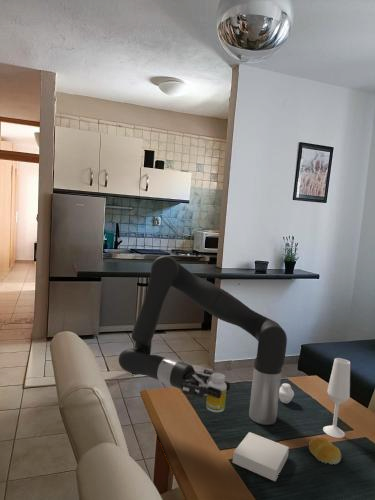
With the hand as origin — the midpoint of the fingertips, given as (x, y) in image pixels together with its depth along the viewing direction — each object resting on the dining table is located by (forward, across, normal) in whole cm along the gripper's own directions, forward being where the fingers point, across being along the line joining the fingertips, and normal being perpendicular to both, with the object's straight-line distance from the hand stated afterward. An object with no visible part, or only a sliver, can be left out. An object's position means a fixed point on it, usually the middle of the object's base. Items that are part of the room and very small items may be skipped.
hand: (225, 390), depth 102 cm
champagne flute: (+26, +32, +18) cm, 45 cm away
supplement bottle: (-3, 0, +6) cm, 7 cm away
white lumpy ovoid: (+7, +42, +18) cm, 46 cm away
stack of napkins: (+11, +3, +18) cm, 21 cm away
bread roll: (+26, +17, +18) cm, 36 cm away
